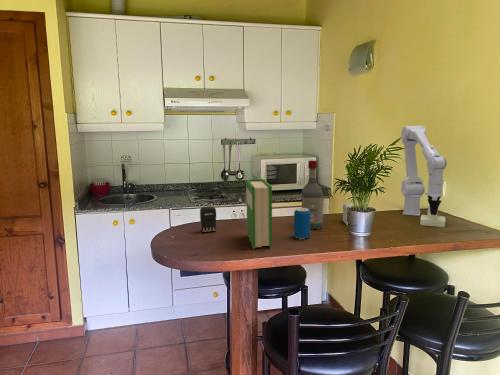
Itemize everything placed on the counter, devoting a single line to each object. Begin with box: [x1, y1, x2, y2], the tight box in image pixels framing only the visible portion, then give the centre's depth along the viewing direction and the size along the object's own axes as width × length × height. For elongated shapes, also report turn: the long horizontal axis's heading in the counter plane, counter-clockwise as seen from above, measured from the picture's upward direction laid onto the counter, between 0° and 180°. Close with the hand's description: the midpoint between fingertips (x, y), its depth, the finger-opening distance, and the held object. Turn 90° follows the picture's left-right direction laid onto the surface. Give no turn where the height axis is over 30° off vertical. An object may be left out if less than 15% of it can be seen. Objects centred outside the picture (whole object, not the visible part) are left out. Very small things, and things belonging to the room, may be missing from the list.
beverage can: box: [293, 207, 311, 240], centre depth 160 cm, size 6×6×12 cm
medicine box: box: [342, 202, 353, 226], centre depth 181 cm, size 8×4×9 cm, turn 179°
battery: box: [199, 205, 217, 231], centre depth 170 cm, size 7×4×11 cm, turn 102°
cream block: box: [426, 205, 439, 219], centre depth 178 cm, size 4×4×5 cm
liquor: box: [301, 159, 324, 230], centre depth 174 cm, size 9×9×30 cm
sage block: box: [419, 214, 446, 228], centre depth 179 cm, size 10×10×2 cm
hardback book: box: [245, 178, 273, 248], centre depth 154 cm, size 18×7×24 cm, turn 7°
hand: (433, 212), depth 178 cm, fingers open, 7 cm apart
